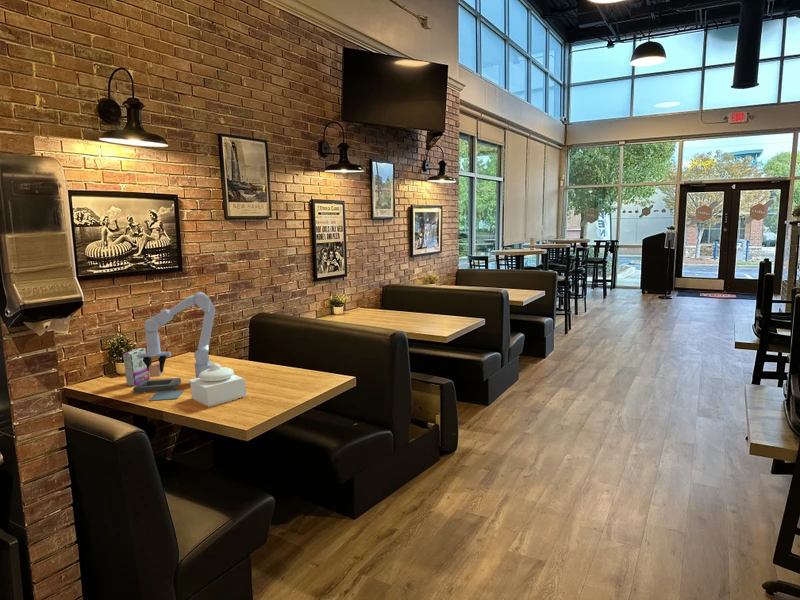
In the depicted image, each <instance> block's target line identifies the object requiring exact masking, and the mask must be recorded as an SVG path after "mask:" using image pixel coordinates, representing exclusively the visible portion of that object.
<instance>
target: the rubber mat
mask: <svg viewBox="0 0 800 600" xmlns="http://www.w3.org/2000/svg"><path fill="white" fill-rule="evenodd" d="M184 391H185V390H184V389H180V390H178V389H177V390H176V389H175V390H173V391H159V392H155V393H154V394H153V395H152V397H150V398H149V399H148V402H151V401H150V400H158V401H168V400H167V399H171V400H178V399H179V398H180V396H181V395H182V394H183V393H184ZM182 392H183V393H182Z"/></svg>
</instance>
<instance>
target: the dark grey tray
mask: <svg viewBox="0 0 800 600" xmlns="http://www.w3.org/2000/svg"><path fill="white" fill-rule="evenodd" d="M181 383H182V377H172V378H161V379H159V378H158V379H157V378H156V379H149V380H143V381H141V382H140V383H139V384H138V385H136V386H133V388H132V391H133V394H143V393H144V392H146V393H154V392H153V391H159V392H163V391H169V390H173V391H176V389H177V388H176V387H177V386H178V387H179V386H180V384H181ZM175 388H176V389H175ZM144 394H145V393H144Z"/></svg>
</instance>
